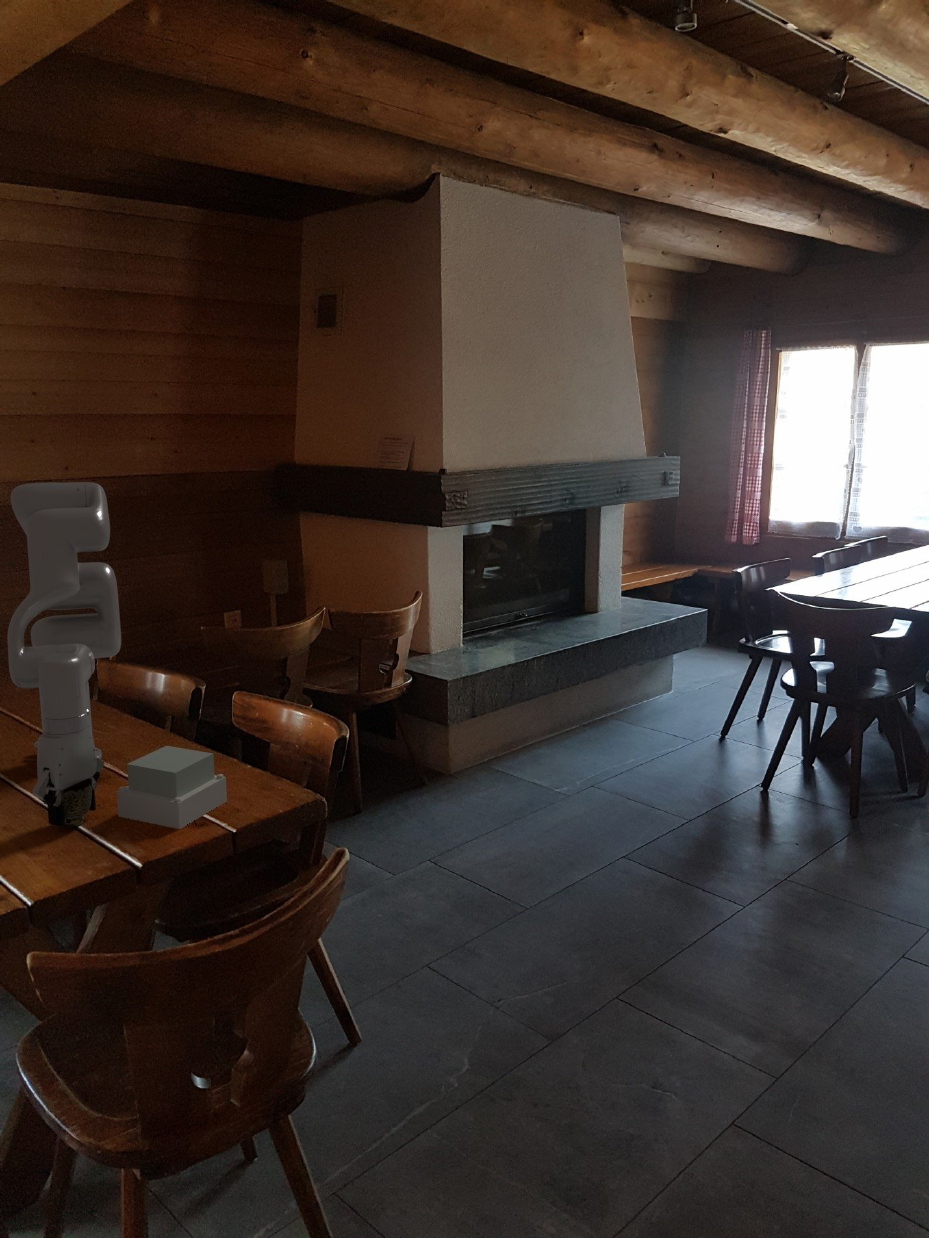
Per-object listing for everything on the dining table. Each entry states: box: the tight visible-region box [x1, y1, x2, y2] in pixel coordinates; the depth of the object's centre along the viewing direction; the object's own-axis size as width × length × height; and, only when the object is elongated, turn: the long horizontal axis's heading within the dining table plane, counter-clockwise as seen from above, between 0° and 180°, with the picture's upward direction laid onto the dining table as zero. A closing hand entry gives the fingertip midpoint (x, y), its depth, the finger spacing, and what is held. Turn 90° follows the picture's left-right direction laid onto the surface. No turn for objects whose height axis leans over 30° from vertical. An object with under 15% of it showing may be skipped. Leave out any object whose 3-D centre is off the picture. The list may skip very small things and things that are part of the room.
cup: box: [51, 779, 92, 828], centre depth 177 cm, size 8×7×8 cm
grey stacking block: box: [116, 745, 228, 830], centre depth 184 cm, size 14×14×10 cm
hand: (72, 816), depth 177 cm, fingers closed on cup, 6 cm apart
